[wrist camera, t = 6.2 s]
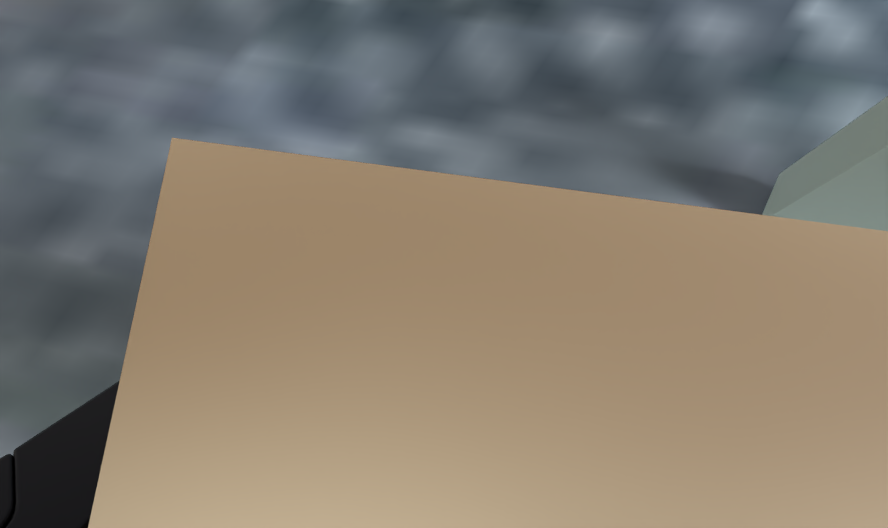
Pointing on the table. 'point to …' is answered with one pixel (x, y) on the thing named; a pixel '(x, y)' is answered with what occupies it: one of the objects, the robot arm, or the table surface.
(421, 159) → the table surface
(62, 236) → the table surface
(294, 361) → the block
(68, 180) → the table surface
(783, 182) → the door
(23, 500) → the robot arm
